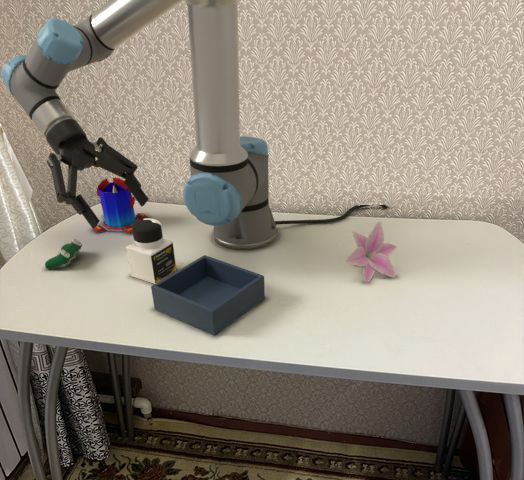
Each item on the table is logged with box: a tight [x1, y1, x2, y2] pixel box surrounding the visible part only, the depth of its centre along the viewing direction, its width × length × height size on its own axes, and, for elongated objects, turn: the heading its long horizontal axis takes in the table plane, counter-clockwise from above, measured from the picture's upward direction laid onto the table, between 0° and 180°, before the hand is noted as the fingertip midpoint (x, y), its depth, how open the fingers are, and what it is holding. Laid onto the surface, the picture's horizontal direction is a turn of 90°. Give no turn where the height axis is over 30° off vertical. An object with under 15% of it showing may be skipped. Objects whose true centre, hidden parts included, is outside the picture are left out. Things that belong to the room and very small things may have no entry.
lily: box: [344, 220, 398, 284], centre depth 119 cm, size 12×12×10 cm
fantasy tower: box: [92, 177, 149, 235], centre depth 140 cm, size 12×12×12 cm
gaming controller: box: [44, 238, 83, 270], centre depth 127 cm, size 9×4×6 cm
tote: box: [150, 254, 266, 336], centre depth 110 cm, size 16×16×5 cm
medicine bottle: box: [125, 217, 177, 285], centre depth 119 cm, size 7×7×12 cm
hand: (121, 213), depth 119 cm, fingers open, 13 cm apart
